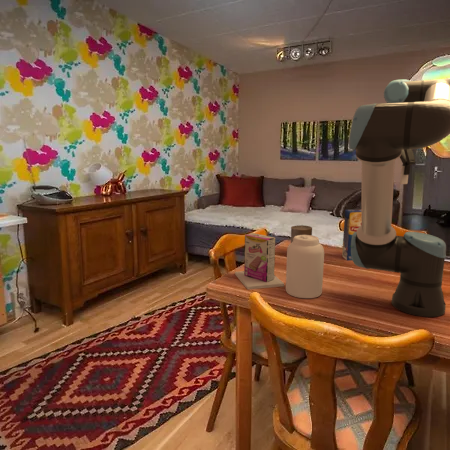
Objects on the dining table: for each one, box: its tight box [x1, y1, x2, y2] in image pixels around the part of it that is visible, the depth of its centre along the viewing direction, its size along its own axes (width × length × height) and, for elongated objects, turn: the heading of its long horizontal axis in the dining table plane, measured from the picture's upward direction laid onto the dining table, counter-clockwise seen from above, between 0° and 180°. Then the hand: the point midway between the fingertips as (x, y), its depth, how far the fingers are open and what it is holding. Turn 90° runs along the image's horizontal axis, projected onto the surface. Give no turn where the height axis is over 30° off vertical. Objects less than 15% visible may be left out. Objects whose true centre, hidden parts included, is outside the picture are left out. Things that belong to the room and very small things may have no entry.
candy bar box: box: [243, 232, 276, 282], centre depth 139 cm, size 11×5×16 cm, turn 47°
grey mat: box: [234, 270, 285, 290], centre depth 141 cm, size 17×14×1 cm
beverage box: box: [341, 209, 362, 262], centre depth 168 cm, size 7×11×22 cm, turn 91°
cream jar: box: [285, 234, 325, 299], centre depth 127 cm, size 12×12×20 cm
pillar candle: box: [290, 224, 313, 243], centre depth 172 cm, size 10×10×15 cm
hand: (390, 182), depth 141 cm, fingers open, 13 cm apart
